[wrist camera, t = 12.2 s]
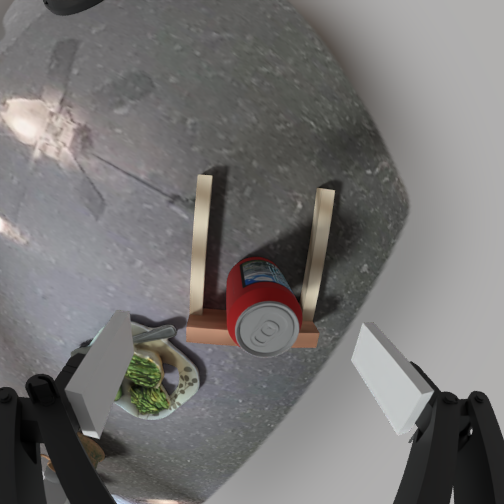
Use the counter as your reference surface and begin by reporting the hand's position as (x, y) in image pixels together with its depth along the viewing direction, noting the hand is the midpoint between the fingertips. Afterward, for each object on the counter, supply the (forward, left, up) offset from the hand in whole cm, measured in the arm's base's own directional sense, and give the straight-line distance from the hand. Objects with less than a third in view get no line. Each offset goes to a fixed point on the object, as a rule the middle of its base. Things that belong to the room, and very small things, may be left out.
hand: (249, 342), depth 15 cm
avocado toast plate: (+19, -13, -20) cm, 31 cm away
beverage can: (+3, +3, -19) cm, 20 cm away
